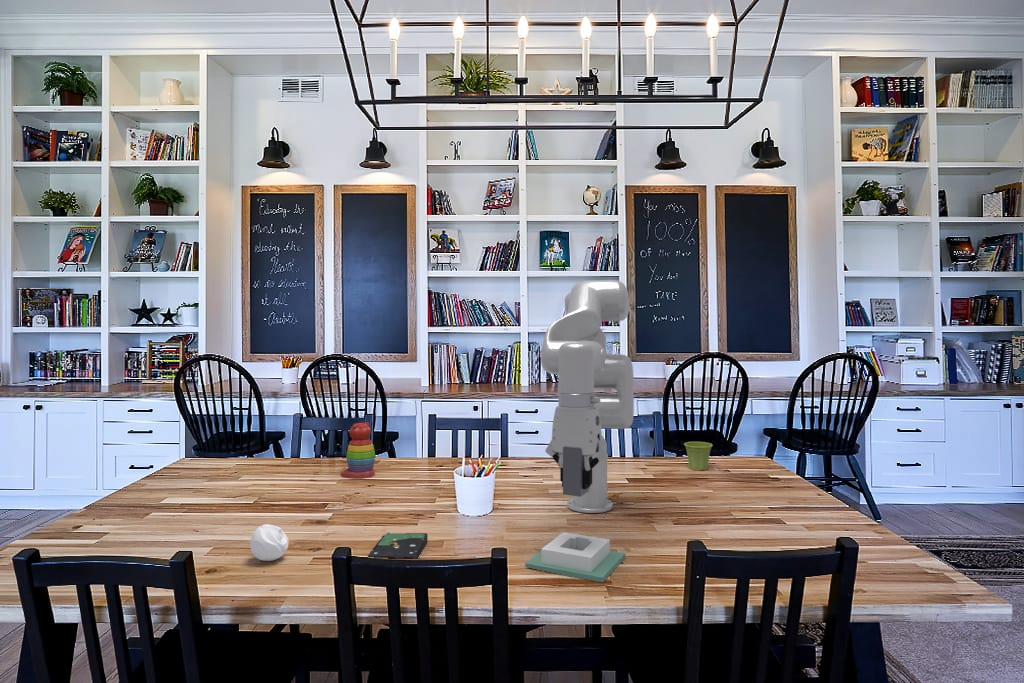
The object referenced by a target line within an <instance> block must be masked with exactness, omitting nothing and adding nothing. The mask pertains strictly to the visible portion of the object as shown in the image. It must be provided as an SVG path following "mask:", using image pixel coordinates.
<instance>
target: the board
mask: <svg viewBox="0 0 1024 683" xmlns="http://www.w3.org/2000/svg"><path fill="white" fill-rule="evenodd" d="M540 550H541V551H539V552H538V553H537V554H535V555H534V556H533V557H531V558H530V559H529V560H527V561H526V562H525V563H524V565H525V567H527V568H526V569H528V568H533V569H537V570H536V571H539V570H542V571H541V572H544V571H547V572H546V573H549V572H551V574H554V573H556V574H555V575H560V574H561V575H560V576H565V575H566V577H570V576H571V578H577V579H581V580H582V579H583V580H586V579H587V580H588V581H593V582H598V583H602V584H603V583H604V582H605V581H606V580H607V578H608V577H609V576H610V575H611V574H612V573H613V572H614V571H615V570H616V568H618V567H619V565H620V564H621V563H622V562H623V561H624V560H625V559H626V552H621V551H615V550H611V539H609V538H603V537H596V536H589V535H584V534H577V533H570V532H565V531H564V532H562V533H560V534H559V535H558V536H556V537H555V538H554V539H553V540H551V541H550V542H549V543H547V544H546V545H545V546H543V547H542V548H541V549H540ZM525 567H524V568H525ZM533 569H532V570H533Z"/></svg>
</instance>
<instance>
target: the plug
mask: <svg viewBox="0 0 1024 683" xmlns="http://www.w3.org/2000/svg"><path fill="white" fill-rule="evenodd" d="M583 470H584V461H583V456H582V451H581V449H579V448H568V447H563V487H562V495H564V496H571V497H573V496H579V497H581V496H583V495H584V494H586V493H587V492H588V491H589V488H587V489H583Z"/></svg>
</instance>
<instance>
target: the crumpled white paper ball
mask: <svg viewBox="0 0 1024 683" xmlns="http://www.w3.org/2000/svg"><path fill="white" fill-rule="evenodd" d="M289 544H290V540H289V538H288V536H287V534H286V533H285V532H284V531H283V530H282V528H281V527H280V526H277V525H273V524H262V525H260V526H259V527H257V528H256V529H255V530H254V532H253V533H252V535H251V538H250V545H249V546H250V550H251V553H252V554H253V556H254V557H255V558H256V559H258V560H260V561H263V562H271V561H275V560H277V559H279V558H281V557H283V556H284V555H285V553H286V551H287V550H288V547H289Z"/></svg>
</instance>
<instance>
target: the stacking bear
mask: <svg viewBox="0 0 1024 683" xmlns="http://www.w3.org/2000/svg"><path fill="white" fill-rule="evenodd" d="M348 433H349V436H350V438H351V440H350V441H349V444H348V447H347V451H346V456H345V457H346V463H347V468H346V469H344V470H341V473H340V475H341V477H343V478H346V479H347V478H348V479H356V480H357V479H358V480H359V479H367V478H371V477H374V476H375V474H376V471H375V469H374V465H375V461H376V460H375V459H376V451H375V447H374V446H375V445H374V444H373V443H372V440H371V439H370V436H371V433H372V432H371V427H370V423H369V422H356V423H354V424H352V426H351V428H350V429H349V432H348Z"/></svg>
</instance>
